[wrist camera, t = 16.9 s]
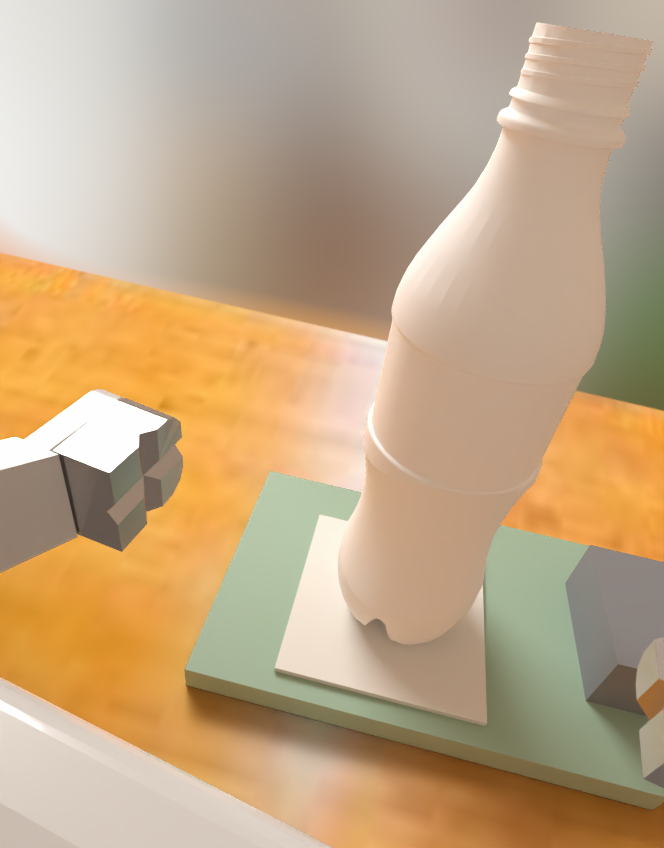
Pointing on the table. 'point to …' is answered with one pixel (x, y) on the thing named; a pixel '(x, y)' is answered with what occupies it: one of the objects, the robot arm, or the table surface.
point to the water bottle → (489, 341)
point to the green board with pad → (444, 648)
